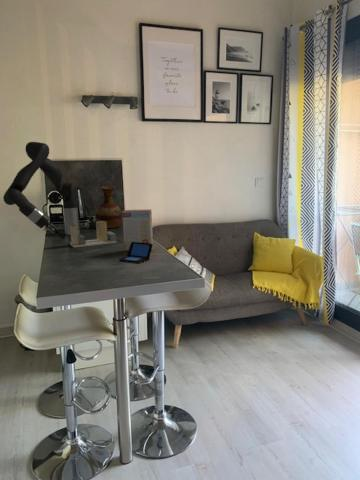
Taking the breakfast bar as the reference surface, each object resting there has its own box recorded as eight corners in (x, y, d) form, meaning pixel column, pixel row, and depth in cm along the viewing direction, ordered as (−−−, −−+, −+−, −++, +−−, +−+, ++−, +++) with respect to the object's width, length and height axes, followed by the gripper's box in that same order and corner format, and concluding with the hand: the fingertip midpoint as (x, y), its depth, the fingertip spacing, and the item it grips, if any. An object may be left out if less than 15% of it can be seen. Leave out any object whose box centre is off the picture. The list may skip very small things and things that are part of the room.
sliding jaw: (70, 241, 219) (69, 224, 217) (81, 240, 221) (79, 223, 219) (74, 245, 208) (73, 227, 206) (85, 244, 210) (84, 226, 209)
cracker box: (153, 249, 198) (151, 208, 194) (151, 251, 192) (149, 210, 188) (127, 249, 199) (124, 209, 196) (124, 251, 194) (122, 210, 190)
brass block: (97, 240, 222) (95, 221, 220) (105, 239, 224) (104, 220, 222) (98, 241, 217) (97, 222, 215) (107, 240, 219) (106, 221, 217)
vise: (69, 243, 219) (69, 235, 218) (110, 239, 229) (110, 231, 228) (73, 247, 208) (72, 238, 207) (116, 242, 218) (116, 234, 217)
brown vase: (95, 230, 267) (92, 186, 261) (95, 225, 286) (93, 185, 281) (123, 228, 271) (121, 185, 265) (122, 224, 290) (120, 184, 285)
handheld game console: (117, 261, 174) (116, 245, 173) (132, 256, 184) (131, 241, 182) (140, 264, 168) (139, 247, 167) (153, 259, 177) (153, 243, 176)
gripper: (44, 213, 198) (70, 234, 206) (41, 211, 210) (66, 231, 217) (34, 224, 197) (61, 245, 204) (32, 221, 209) (57, 241, 216)
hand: (64, 237), depth 211 cm, fingers closed
